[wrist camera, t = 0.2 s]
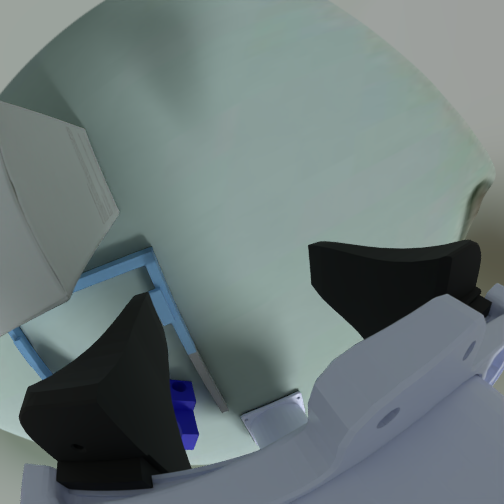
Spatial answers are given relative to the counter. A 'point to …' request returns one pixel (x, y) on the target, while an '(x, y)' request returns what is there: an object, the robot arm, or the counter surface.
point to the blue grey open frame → (160, 300)
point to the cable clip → (185, 411)
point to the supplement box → (46, 212)
